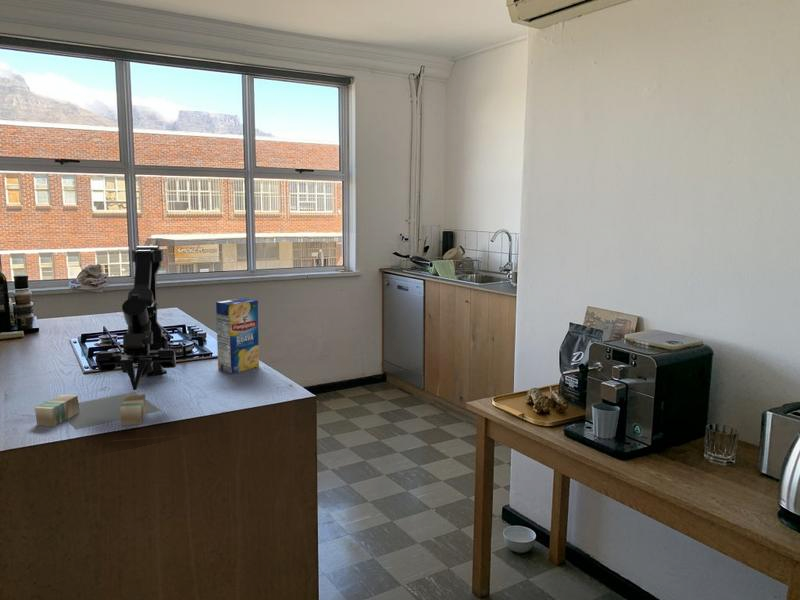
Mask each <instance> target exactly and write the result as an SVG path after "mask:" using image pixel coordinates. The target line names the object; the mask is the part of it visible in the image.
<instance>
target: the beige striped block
mask: <svg viewBox="0 0 800 600" xmlns="http://www.w3.org/2000/svg"><path fill="white" fill-rule="evenodd" d="M79 403H80V402H79V397H78V395H76V394H75V395H74V394H73V395H72V394H60V395H58V396H56V397H53V398H52V399H50V400H48V401H45V402H43V403H41V404H37V406H36V407H34V411H35V413H34V414H35V419H36V420H35V421H36V425H37V426H44V427H45V426H48V427H55V426H58V425H60V424H62V423H63V422H66V421H67V419H69V418H70V417H72V416H74V415H76V414H78V413H80V412H79Z"/></svg>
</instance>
